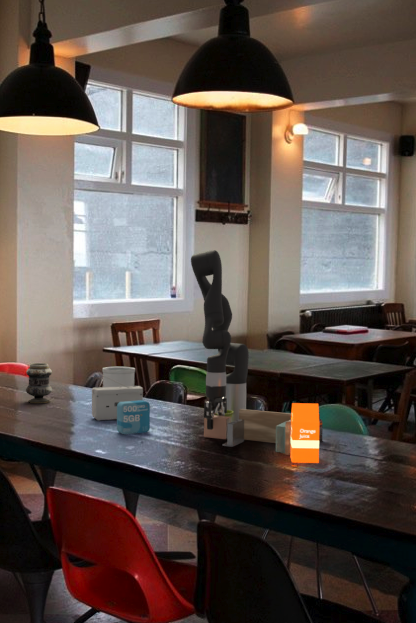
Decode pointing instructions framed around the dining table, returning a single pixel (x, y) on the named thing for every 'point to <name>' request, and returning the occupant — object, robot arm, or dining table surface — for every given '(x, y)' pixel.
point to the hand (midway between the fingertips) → (215, 427)
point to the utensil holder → (118, 376)
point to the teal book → (280, 437)
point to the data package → (133, 417)
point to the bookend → (235, 433)
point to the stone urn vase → (39, 382)
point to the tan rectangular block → (217, 427)
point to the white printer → (112, 399)
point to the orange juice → (304, 433)
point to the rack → (265, 426)
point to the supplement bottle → (320, 429)
